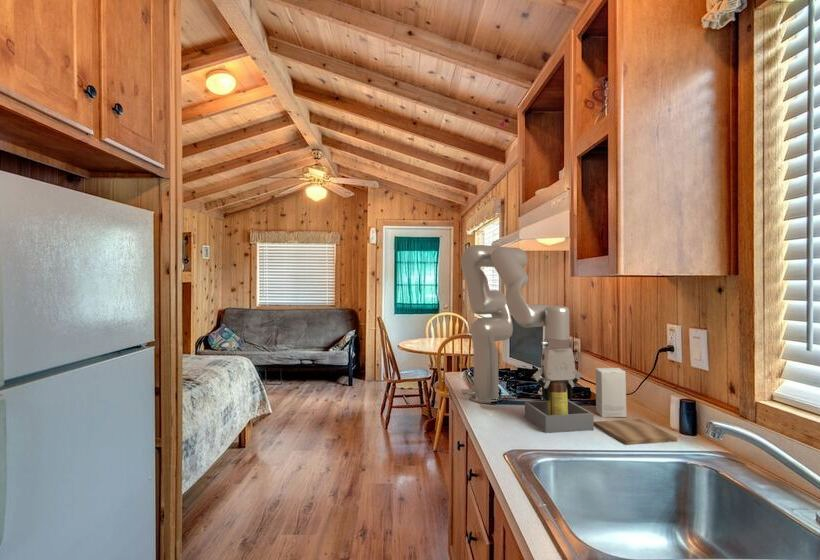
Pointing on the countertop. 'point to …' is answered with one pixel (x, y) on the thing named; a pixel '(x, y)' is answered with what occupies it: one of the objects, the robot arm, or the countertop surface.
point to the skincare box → (610, 392)
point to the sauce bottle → (557, 398)
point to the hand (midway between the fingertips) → (557, 398)
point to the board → (634, 431)
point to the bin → (559, 417)
